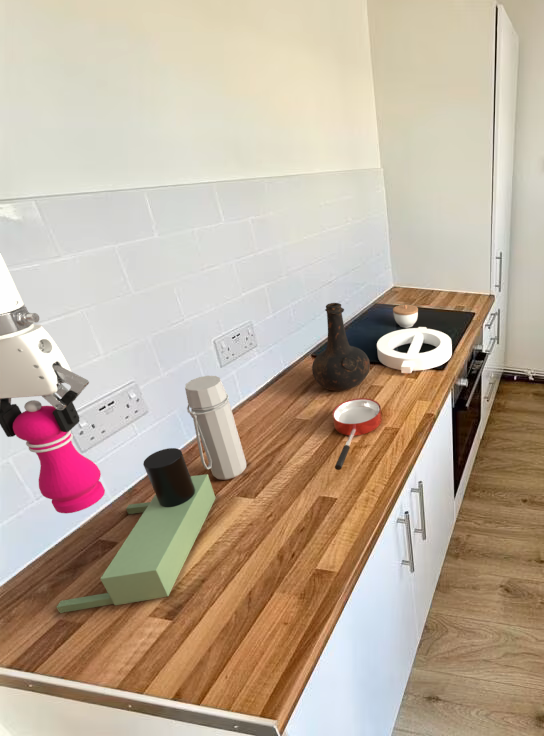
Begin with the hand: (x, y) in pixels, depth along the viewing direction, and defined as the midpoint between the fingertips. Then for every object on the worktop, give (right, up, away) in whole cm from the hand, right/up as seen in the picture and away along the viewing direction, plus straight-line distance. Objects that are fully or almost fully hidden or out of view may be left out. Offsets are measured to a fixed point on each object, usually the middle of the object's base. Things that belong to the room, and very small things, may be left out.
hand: (44, 428), depth 67 cm
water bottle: (+4, -18, +37) cm, 41 cm away
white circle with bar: (+36, +11, +100) cm, 107 cm away
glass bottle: (+17, +1, +77) cm, 79 cm away
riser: (+1, -27, +18) cm, 32 cm away
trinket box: (+26, +24, +125) cm, 130 cm away
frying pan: (+31, -13, +50) cm, 60 cm away
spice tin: (+5, -18, +21) cm, 28 cm away
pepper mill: (-1, -14, +7) cm, 15 cm away
